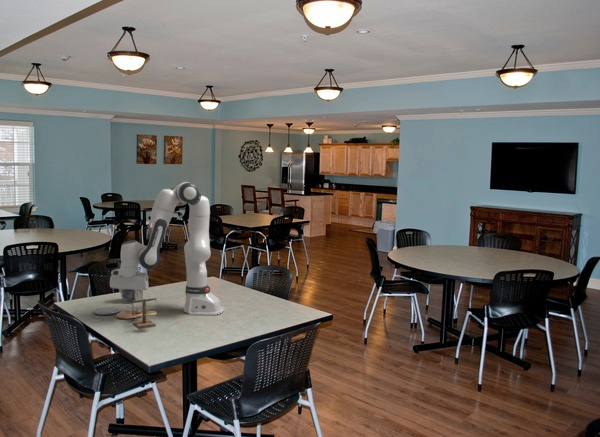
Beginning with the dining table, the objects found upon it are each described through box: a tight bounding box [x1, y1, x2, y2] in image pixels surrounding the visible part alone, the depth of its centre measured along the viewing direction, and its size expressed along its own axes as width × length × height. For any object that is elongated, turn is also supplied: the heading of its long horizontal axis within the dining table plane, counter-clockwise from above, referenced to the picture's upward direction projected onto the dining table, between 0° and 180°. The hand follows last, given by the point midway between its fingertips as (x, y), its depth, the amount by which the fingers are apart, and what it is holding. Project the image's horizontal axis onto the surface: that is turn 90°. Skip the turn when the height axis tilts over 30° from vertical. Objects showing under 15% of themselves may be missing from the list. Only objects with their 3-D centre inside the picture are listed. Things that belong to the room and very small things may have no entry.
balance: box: [131, 297, 158, 330], centre depth 258 cm, size 23×8×15 cm, turn 37°
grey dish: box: [93, 306, 121, 316], centre depth 280 cm, size 13×13×1 cm
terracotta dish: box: [116, 310, 141, 320], centre depth 274 cm, size 13×13×1 cm
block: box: [121, 289, 136, 304], centre depth 273 cm, size 5×5×6 cm
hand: (129, 297), depth 273 cm, fingers closed on block, 5 cm apart
